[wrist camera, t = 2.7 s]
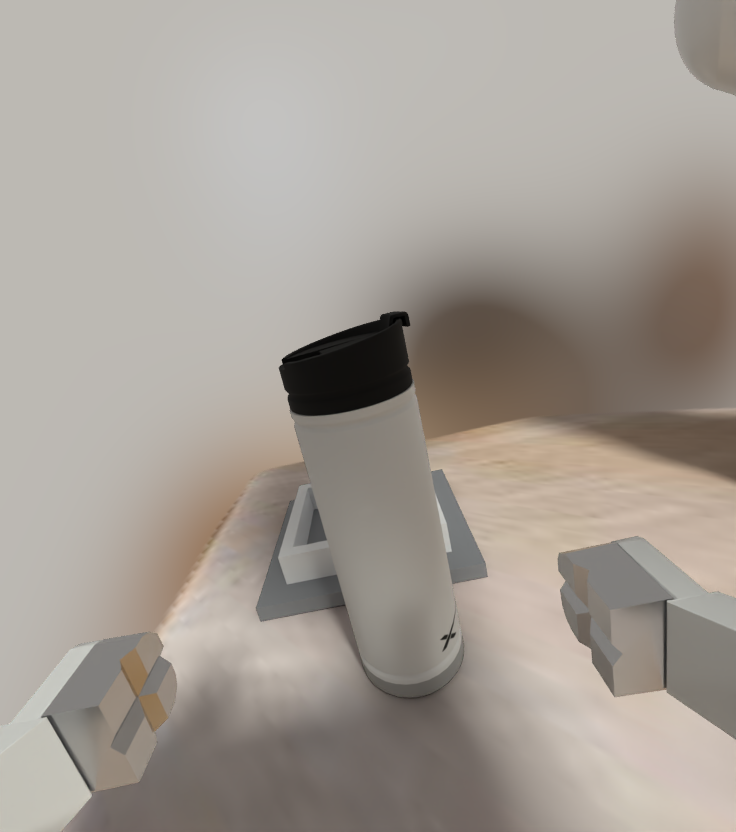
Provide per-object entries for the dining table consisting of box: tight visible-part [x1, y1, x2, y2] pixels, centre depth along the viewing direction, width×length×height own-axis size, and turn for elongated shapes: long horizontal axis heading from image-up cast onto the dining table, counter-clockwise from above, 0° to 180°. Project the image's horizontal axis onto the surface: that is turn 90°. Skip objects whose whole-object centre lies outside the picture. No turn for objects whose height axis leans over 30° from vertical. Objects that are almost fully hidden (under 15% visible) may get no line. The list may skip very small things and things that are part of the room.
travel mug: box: [279, 312, 464, 698], centre depth 22 cm, size 6×7×20 cm
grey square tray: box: [256, 469, 488, 621], centre depth 37 cm, size 17×16×4 cm
